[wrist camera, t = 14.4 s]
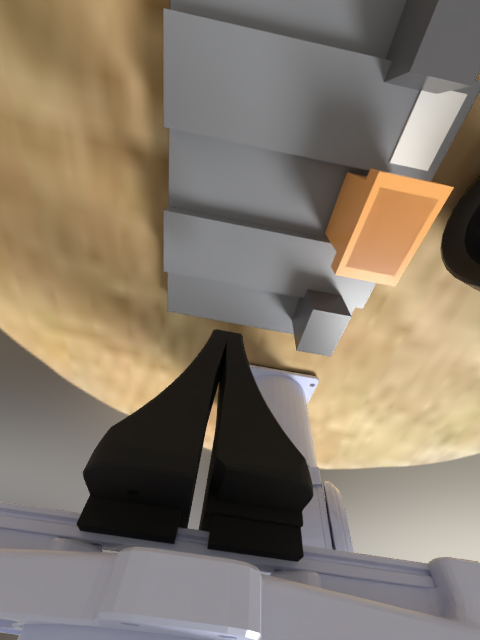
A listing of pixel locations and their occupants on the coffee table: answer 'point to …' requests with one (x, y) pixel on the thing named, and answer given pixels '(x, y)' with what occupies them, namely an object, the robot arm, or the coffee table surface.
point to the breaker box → (297, 143)
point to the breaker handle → (381, 223)
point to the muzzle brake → (464, 238)
